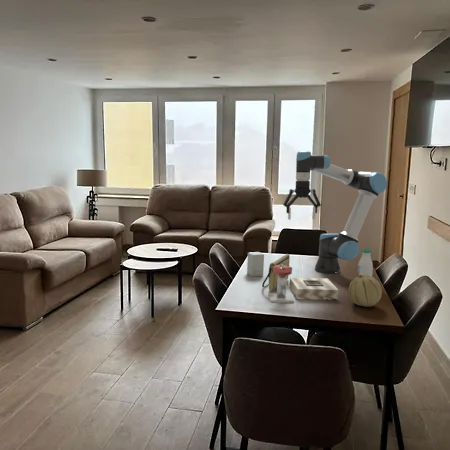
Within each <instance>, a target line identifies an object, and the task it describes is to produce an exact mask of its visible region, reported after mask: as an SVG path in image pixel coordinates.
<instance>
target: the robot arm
mask: <svg viewBox="0 0 450 450" xmlns="http://www.w3.org/2000/svg"><path fill="white" fill-rule="evenodd" d="M295 162H296V164H295V165H296V166H295V167H296V168H295V169H296V170H295V171H296V172H295V189H292V188H291V189H289V190H288V191H289V193H288V194H287V196H286V197H285V200H284V202H283V206H284V207H286V210H285V211H286V214H287V219H288V220H289V221H290V220H291V215H292V214H291V212H292V208H291V206H292V205H293V204H294V203H295V201H296V200H297V199H298V198H305V199H306V198H307V199H308V200H309V203H311V204H312V217H311V218H312V220H316V214H317V213H318V208H319V207H321V206H322V204H321V202H320V200H319V197H318V196H317V192H316V189H314V188H312V189H311V188H310V187H311V181H310V180H311V172H314V173H317V174H320V175H323V176H325V177H328V178H331V179H334V180H336V181H339V182H342V184H344V185H346V186H347V187H349V188H352V189H354V190H357V191H358V196H357V198H356V200H355V203H354V205H353V208H352V210H351V211H350V215H349V216H348V219H347V221H346V224H345V226H344V228H343V230H342V231H340V232H339V233H321V234H320V236H319V245H318V246H319V248H318V258H317V260H316V263H315V265H314V270H315V271H316V272H318V271H319V273H322V272H323V273H324V274H331V273H333V274H336V273H335V272H339V271H340V272H341V265H340V262H339V259H340V260H345V261H352V260H353V259H355V258H356V257H357V256H358V254H359V252H360V248H359V247H360V246H359V244H358V243H359V238H358V236H359V234H360V231H361V229H362V227H363V225H364V222H365V221H366V217H367V215H368V213H369V210H370V208H371V206H372V204H373V201H374V200H375V199H378V197H379V194H382V193H384V192H385V190H386V189H387V186H388V182H387V177H386V176H385V174H383V173H381V172H377V171H364V170H363V171H361V170H353V169H346V168H343V167H340V166H338V165H335V164H332V163H331V158H330V156H329V155H327V154H312V152H311V151H309V150H308V151H306V150H305V151H304V150H303V151H302V150H301V151H298V152H297V153H296V161H295ZM294 193H295V195H294V196H293V194H294ZM310 193H311V195H312V196H313V198H314V200H313V198H312V197H311V196H310ZM292 196H293V198H292ZM340 272H339V273H340Z"/></svg>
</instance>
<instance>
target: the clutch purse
mask: <svg viewBox="0 0 450 450" xmlns="http://www.w3.org/2000/svg"><path fill="white" fill-rule="evenodd" d="M280 264H283V265H285V266H290V254H289V253H286V254H284V255H283V256H281V257H279V258H278V259H276V260H275V261H273V262H272V263H269V268H268V274H267V275H266V277H265V279H264V280H263V282H262V284H261V285H262V288H266V287H268V291H270V292H273V291H274V290H275V289H277V278H278V274H275V273H273V266H276V265H280ZM289 276H290V275H287V280H288V279H289ZM267 280H268V284H267V285H265V284H266V282H267Z"/></svg>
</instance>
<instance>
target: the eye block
mask: <svg viewBox="0 0 450 450" xmlns="http://www.w3.org/2000/svg"><path fill="white" fill-rule="evenodd" d="M289 288H290V290H291V291H292V293H293V295H294V296H295V298H296V299H297V300H326V299H328V300H326V301H329V300H331V301H333V300H332V299H338V300H339V289H338V288H337V287H336V286H335V284H334V283H332V281H331V280H330V279H329V278H327V277H326V278H320V277H317V278H316V277H289Z"/></svg>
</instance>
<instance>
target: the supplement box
mask: <svg viewBox="0 0 450 450" xmlns="http://www.w3.org/2000/svg"><path fill="white" fill-rule="evenodd" d="M264 262H265V254H264V253H262V252H260V251H254V252H247V261H246V263H247V268H246V269H247V270H246V274H247V275H250V276H251V277H261V276H264V268H265V263H264Z"/></svg>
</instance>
